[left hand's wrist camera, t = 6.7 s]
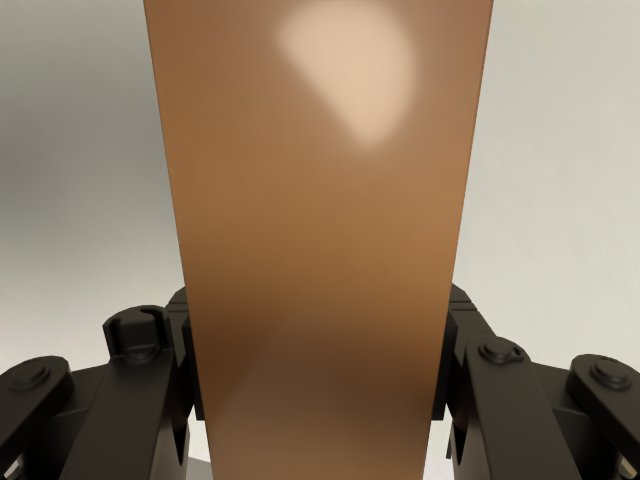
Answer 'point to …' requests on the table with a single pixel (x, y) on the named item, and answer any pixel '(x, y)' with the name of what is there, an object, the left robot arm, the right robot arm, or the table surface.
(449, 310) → the left robot arm
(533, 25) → the table surface
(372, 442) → the beam
